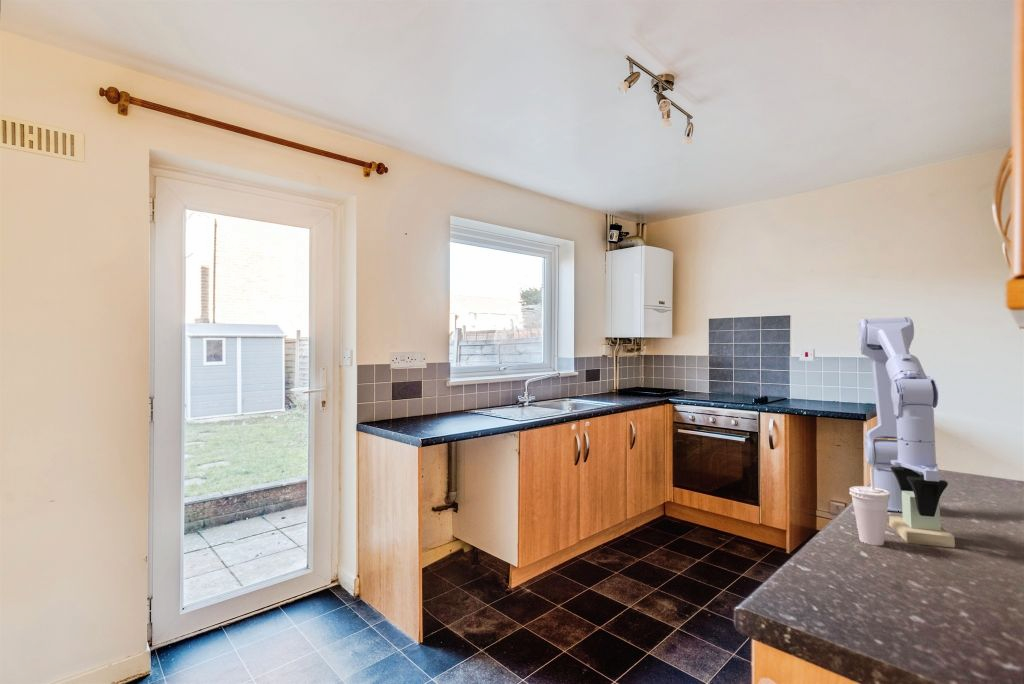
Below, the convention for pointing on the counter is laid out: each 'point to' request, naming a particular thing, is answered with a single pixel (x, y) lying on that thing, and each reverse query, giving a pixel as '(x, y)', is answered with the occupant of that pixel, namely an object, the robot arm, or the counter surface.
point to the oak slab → (921, 534)
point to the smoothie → (870, 511)
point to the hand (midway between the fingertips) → (918, 509)
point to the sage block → (913, 516)
